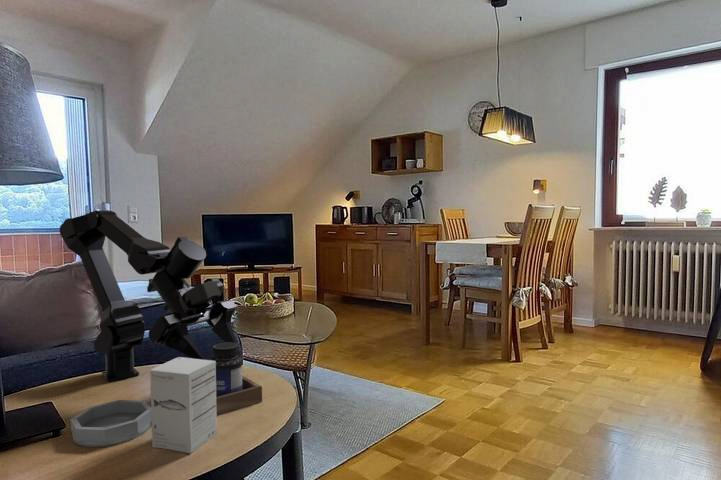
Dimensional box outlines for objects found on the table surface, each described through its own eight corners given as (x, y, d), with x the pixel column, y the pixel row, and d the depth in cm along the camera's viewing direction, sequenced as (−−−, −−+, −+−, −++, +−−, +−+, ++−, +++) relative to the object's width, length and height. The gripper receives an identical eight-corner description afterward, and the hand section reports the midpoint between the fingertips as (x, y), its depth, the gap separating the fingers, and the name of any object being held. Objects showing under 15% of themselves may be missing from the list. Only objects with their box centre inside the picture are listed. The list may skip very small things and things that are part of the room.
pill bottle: (203, 403, 92) (201, 347, 91) (226, 392, 97) (224, 339, 97) (227, 409, 89) (226, 351, 88) (249, 398, 94) (248, 343, 94)
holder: (191, 399, 94) (191, 384, 94) (239, 387, 100) (238, 373, 100) (212, 416, 86) (212, 400, 86) (262, 401, 93) (261, 386, 92)
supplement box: (150, 448, 75) (147, 369, 74) (181, 427, 82) (179, 355, 81) (190, 455, 72) (187, 373, 72) (219, 433, 79) (216, 359, 79)
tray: (67, 428, 82) (66, 412, 82) (140, 409, 89) (139, 394, 89) (80, 454, 73) (79, 437, 73) (160, 431, 80) (159, 415, 80)
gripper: (156, 272, 87) (202, 339, 82) (229, 262, 103) (271, 317, 99) (129, 312, 91) (172, 377, 86) (203, 296, 107) (243, 350, 103)
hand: (218, 353), depth 93 cm, fingers open, 9 cm apart
